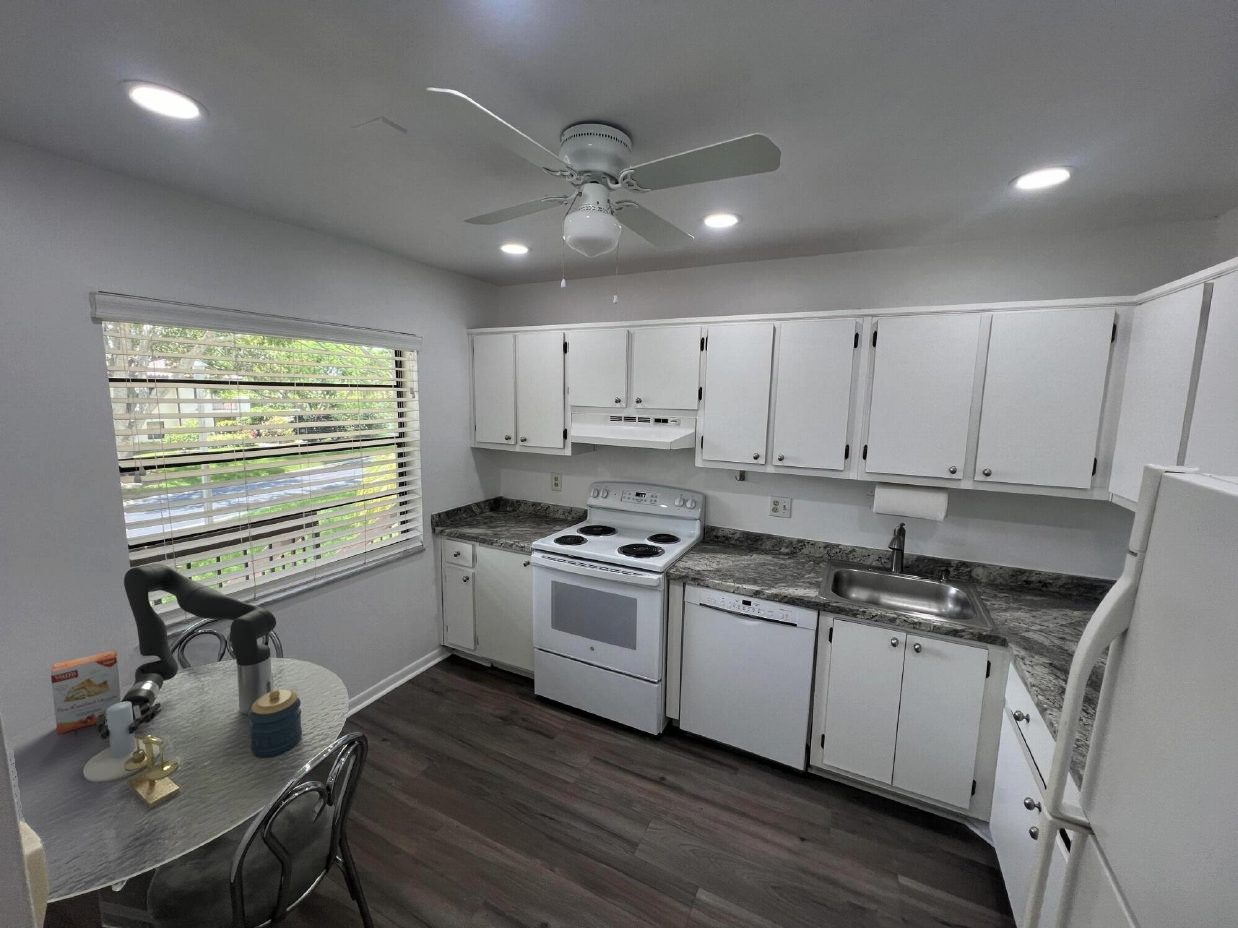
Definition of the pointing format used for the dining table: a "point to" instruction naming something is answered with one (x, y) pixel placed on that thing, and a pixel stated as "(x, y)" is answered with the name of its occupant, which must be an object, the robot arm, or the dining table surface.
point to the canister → (275, 723)
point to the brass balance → (151, 773)
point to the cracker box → (85, 689)
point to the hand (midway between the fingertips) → (117, 733)
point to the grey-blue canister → (120, 729)
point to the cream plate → (112, 765)
